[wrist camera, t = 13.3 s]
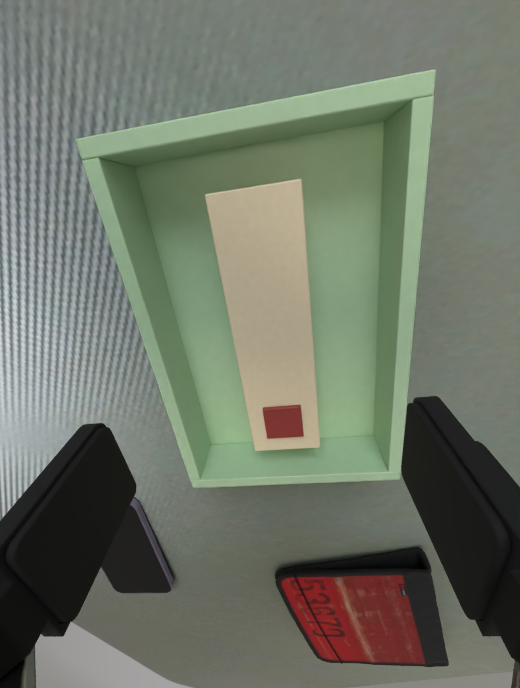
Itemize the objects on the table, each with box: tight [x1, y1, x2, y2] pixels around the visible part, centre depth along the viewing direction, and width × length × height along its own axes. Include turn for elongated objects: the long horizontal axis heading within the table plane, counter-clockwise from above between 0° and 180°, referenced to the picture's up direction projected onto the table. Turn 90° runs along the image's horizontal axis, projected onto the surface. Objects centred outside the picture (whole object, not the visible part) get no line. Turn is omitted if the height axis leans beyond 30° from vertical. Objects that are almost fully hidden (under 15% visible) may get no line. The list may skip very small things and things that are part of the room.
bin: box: [76, 70, 436, 488], centre depth 18 cm, size 22×15×4 cm
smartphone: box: [101, 498, 174, 593], centre depth 32 cm, size 7×1×15 cm
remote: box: [205, 179, 321, 451], centre depth 18 cm, size 16×4×3 cm, turn 8°
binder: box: [275, 547, 449, 667], centre depth 34 cm, size 16×2×21 cm
